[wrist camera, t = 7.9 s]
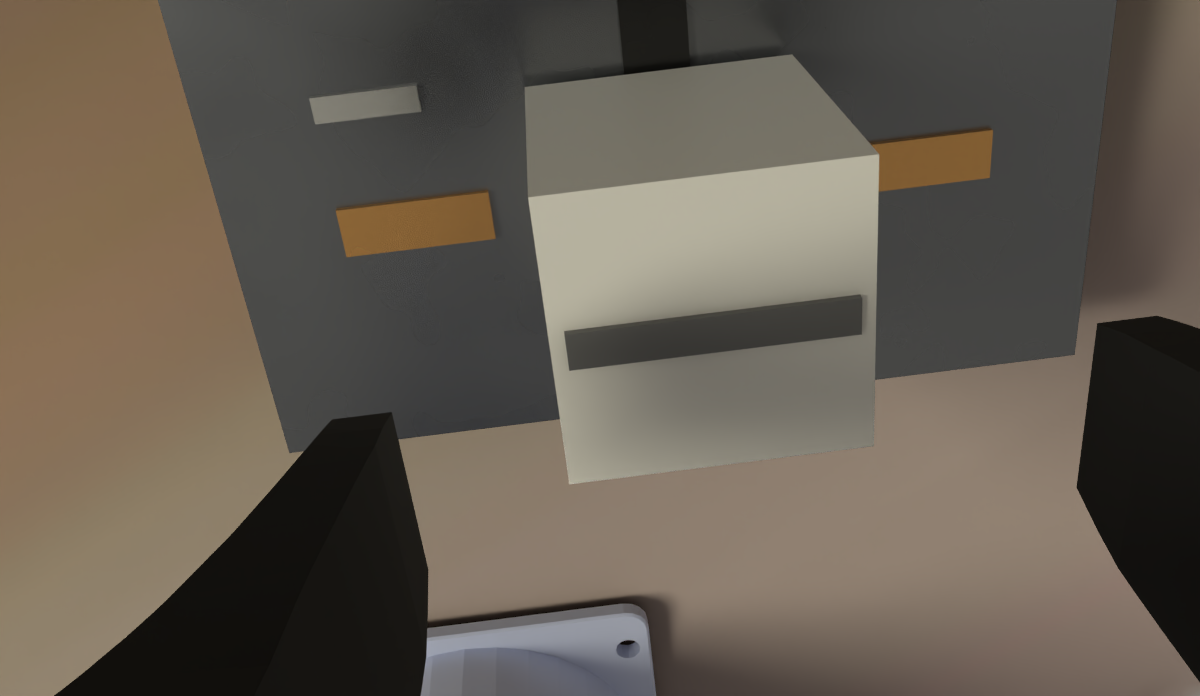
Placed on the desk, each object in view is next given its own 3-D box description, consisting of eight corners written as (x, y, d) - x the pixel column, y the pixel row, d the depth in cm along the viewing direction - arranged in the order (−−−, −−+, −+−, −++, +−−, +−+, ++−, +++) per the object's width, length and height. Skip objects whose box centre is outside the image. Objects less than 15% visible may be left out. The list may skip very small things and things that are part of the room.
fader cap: (797, 294, 18) (875, 450, 14) (557, 324, 18) (569, 488, 14) (792, 54, 17) (882, 156, 13) (524, 87, 16) (527, 200, 12)
